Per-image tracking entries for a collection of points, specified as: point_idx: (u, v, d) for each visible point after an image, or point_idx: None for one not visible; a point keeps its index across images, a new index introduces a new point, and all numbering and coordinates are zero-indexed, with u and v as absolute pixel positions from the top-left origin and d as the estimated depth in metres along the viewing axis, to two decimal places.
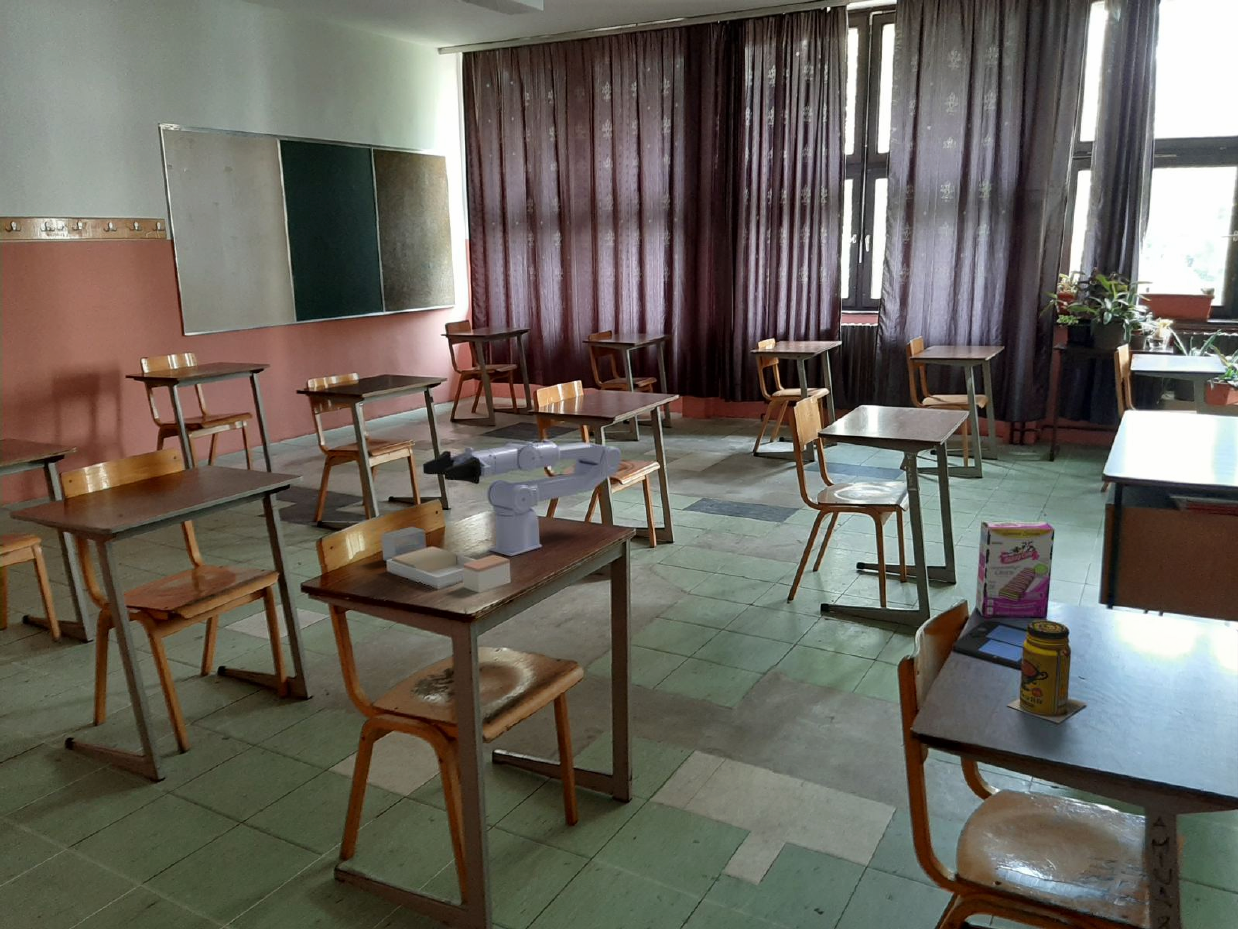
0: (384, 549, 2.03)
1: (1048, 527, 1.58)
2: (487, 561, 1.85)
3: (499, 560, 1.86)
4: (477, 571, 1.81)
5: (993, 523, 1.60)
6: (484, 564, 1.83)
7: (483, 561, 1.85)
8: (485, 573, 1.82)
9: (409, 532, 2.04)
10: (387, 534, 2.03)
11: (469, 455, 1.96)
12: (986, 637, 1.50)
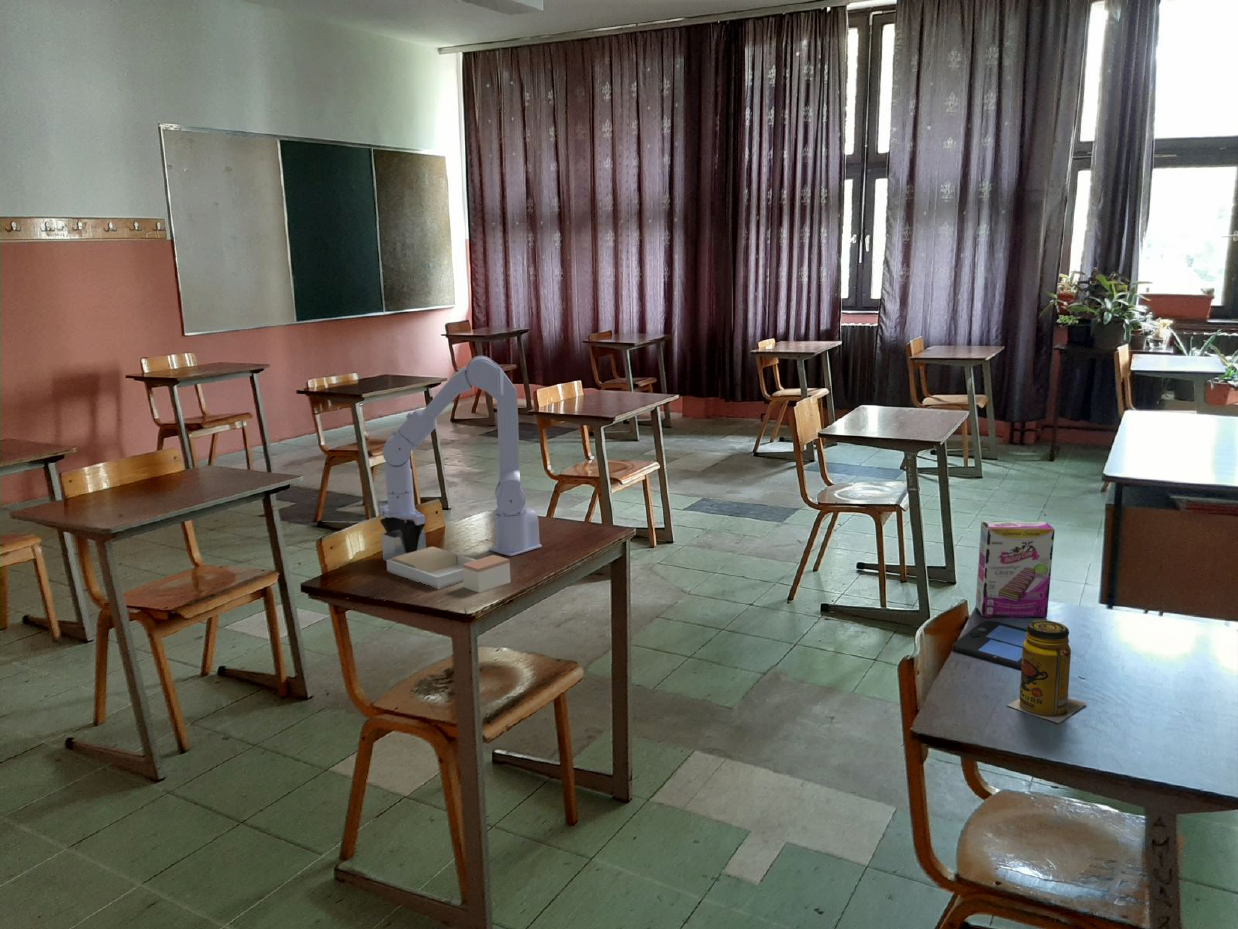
0: (384, 548, 2.03)
1: (1048, 527, 1.58)
2: (487, 561, 1.85)
3: (499, 560, 1.86)
4: (477, 571, 1.81)
5: (993, 523, 1.60)
6: (484, 564, 1.83)
7: (483, 561, 1.85)
8: (485, 573, 1.82)
9: None
10: (387, 534, 2.03)
11: None
12: (986, 637, 1.50)
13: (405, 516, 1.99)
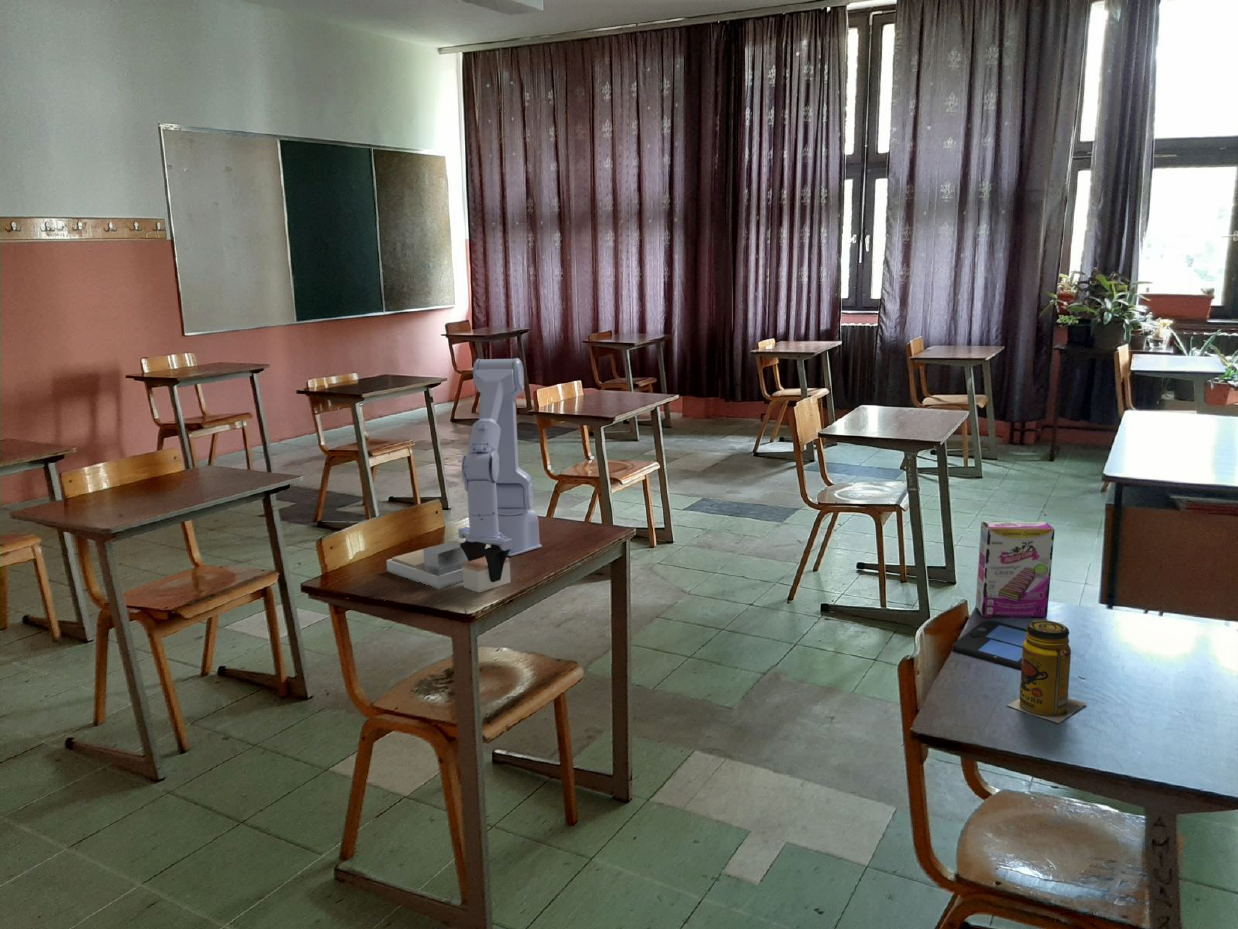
0: (426, 565, 1.89)
1: (1048, 527, 1.58)
2: None
3: None
4: (477, 570, 1.81)
5: (993, 523, 1.60)
6: (484, 563, 1.83)
7: (483, 561, 1.85)
8: (485, 573, 1.82)
9: (452, 547, 1.89)
10: (429, 549, 1.89)
11: None
12: (986, 637, 1.50)
13: (490, 540, 1.80)
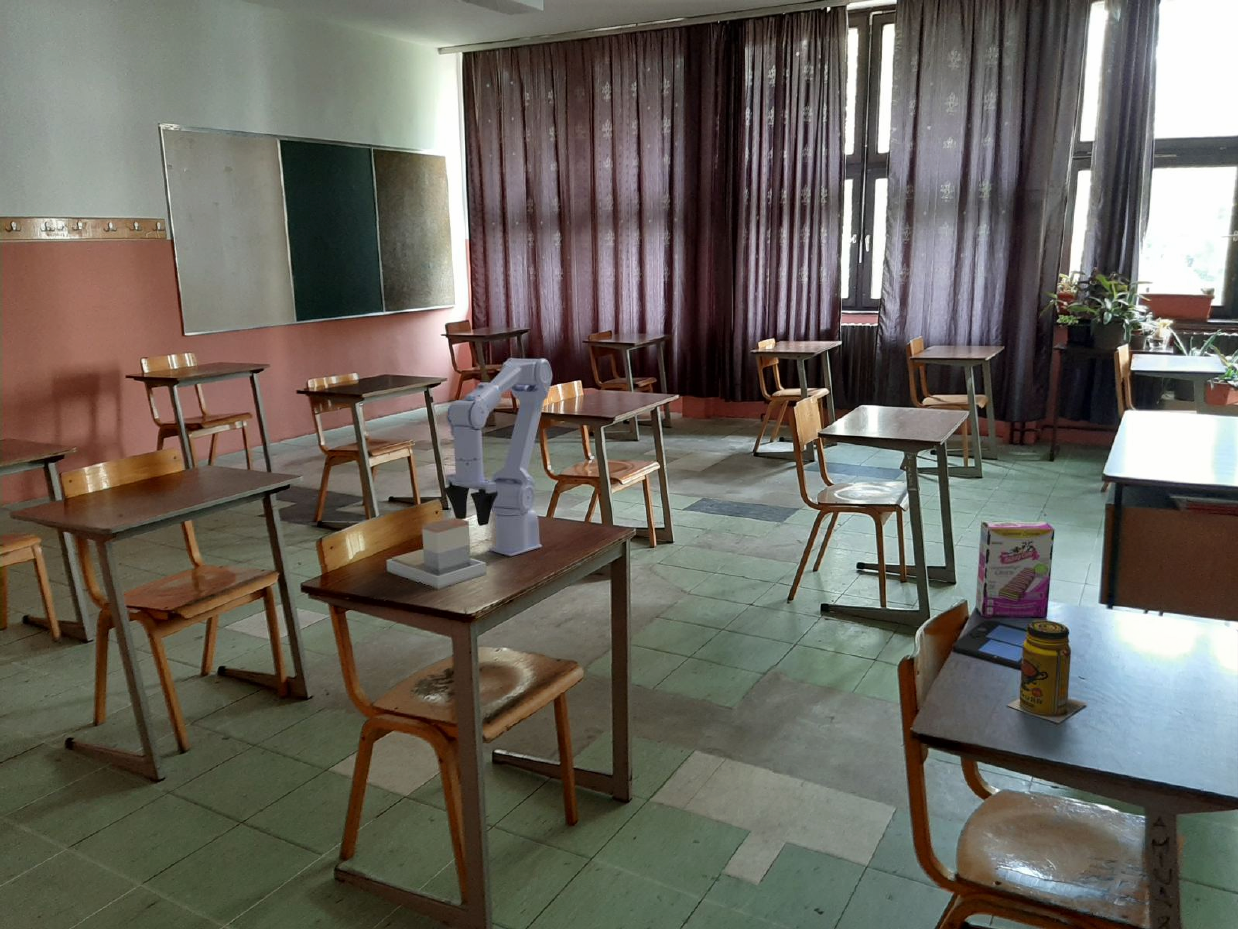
0: (426, 565, 1.89)
1: (1048, 527, 1.58)
2: (446, 523, 1.89)
3: (458, 522, 1.90)
4: (436, 532, 1.85)
5: (993, 523, 1.60)
6: (443, 525, 1.87)
7: (442, 523, 1.89)
8: (444, 534, 1.86)
9: None
10: None
11: None
12: (986, 637, 1.50)
13: (475, 484, 1.88)
